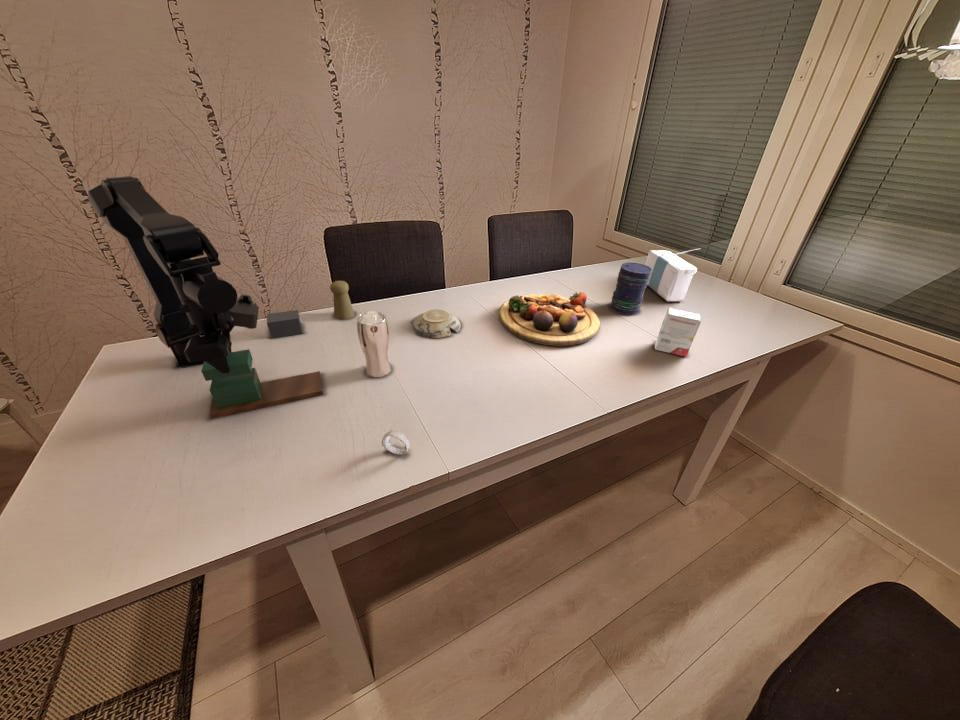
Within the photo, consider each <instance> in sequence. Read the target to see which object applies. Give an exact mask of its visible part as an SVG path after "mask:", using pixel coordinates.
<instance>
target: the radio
mask: <svg viewBox="0 0 960 720" xmlns="http://www.w3.org/2000/svg"><path fill="white" fill-rule="evenodd" d="M696 250H702V248H701V247H698V248H694V249H690V250H685V251H680V252H676V253H673V252H672V251H670V250H663V249H662V250H661V249H659V250H657V249H655V250H654V249H653V250H651V249H650V250H649V251H648V253H647V257H646V259H645V263H644V265H646V266H648V267H650V268H651V269H652V271H651V274H650V279H649V282H648V285H647V287H649V288H651V290H653V291H654V292H655V293H657V295H659V296H660V297H661V298H663V300H665V301H666V302H667V303H668V302H683V301H684V300H685V298H686V294H687V292H688V290H689V287H690V284H691V282H692V279H693V277H694V275H695V274H696V273H697V271H698V268H697V267H696V266H694V265H693V264H691V263H689V262H688V261H686V260H684V259H683V258H681V257H679V256H678V255H681V254H686V253H689V252H693V251H696Z"/></svg>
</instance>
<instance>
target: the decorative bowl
mask: <svg viewBox="0 0 960 720" xmlns="http://www.w3.org/2000/svg"><path fill="white" fill-rule="evenodd" d="M412 326H413V329H414V330H415V331H416V333H417V335H418V336H421V337H424V338H432V339H442V338H446V337H450V336H452V332H451V330H453V331H454V332H455V333H458V332H459V331H460V330H461V322H460V320H459V318H458V317H457V316H455V315H454V314H452V313H450V312H448V311H446V310H444V309H436V308H435V309H429V310H426V311H424V312H422V313H420V314H419V315H417V316H416V318H415V319H414V320H413V321H412Z"/></svg>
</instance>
